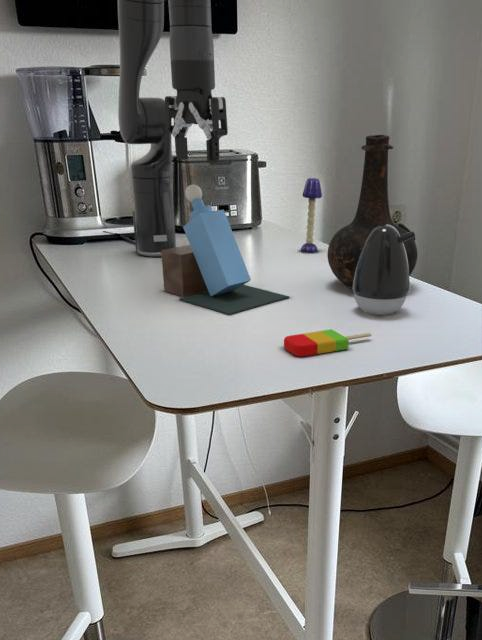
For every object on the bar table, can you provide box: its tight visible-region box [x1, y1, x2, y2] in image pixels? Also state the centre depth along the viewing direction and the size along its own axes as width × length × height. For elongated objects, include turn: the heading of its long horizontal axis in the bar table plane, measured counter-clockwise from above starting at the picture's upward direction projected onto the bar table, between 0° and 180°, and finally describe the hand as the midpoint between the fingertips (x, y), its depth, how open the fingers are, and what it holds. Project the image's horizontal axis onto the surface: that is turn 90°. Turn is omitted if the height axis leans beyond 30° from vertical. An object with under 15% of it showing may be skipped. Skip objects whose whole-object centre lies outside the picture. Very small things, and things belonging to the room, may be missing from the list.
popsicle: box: [283, 328, 372, 358], centre depth 111 cm, size 6×15×2 cm, turn 116°
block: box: [161, 244, 208, 298], centre depth 139 cm, size 6×12×8 cm, turn 137°
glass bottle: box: [326, 134, 418, 289], centre depth 136 cm, size 18×18×28 cm
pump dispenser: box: [352, 224, 416, 316], centre depth 124 cm, size 10×10×15 cm
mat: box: [178, 284, 290, 316], centre depth 135 cm, size 14×16×1 cm
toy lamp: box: [300, 177, 323, 254], centre depth 168 cm, size 5×5×17 cm
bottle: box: [182, 184, 252, 297], centre depth 133 cm, size 14×6×19 cm, turn 47°
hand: (197, 161), depth 128 cm, fingers open, 8 cm apart
